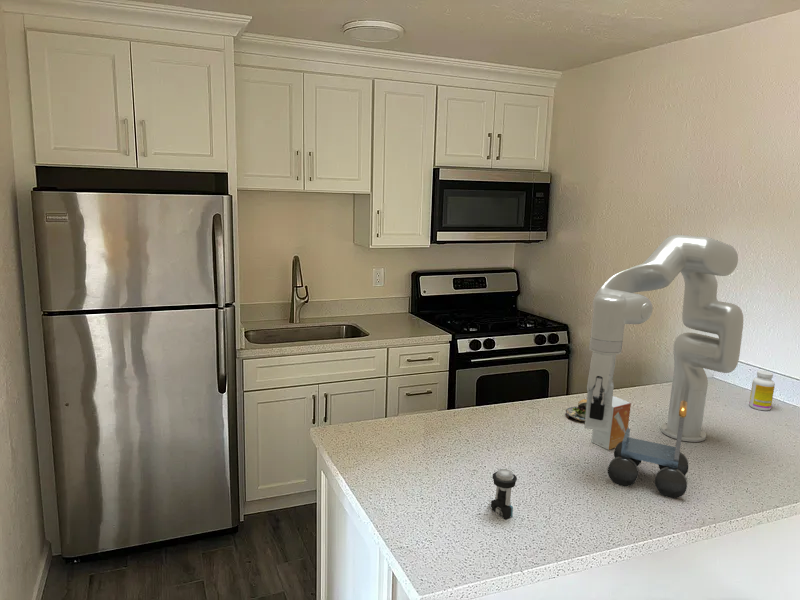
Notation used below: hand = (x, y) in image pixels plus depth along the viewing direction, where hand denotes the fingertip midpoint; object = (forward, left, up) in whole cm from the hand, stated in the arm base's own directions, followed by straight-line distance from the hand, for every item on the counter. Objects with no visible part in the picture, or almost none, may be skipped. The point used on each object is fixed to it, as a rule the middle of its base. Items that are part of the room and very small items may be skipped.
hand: (598, 414), depth 149 cm
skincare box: (0, 0, -4) cm, 4 cm away
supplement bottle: (-85, +43, -17) cm, 97 cm away
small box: (-24, +1, -17) cm, 30 cm away
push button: (+29, -15, -17) cm, 37 cm away
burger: (-41, -9, -17) cm, 46 cm away
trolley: (-6, +13, -17) cm, 22 cm away
